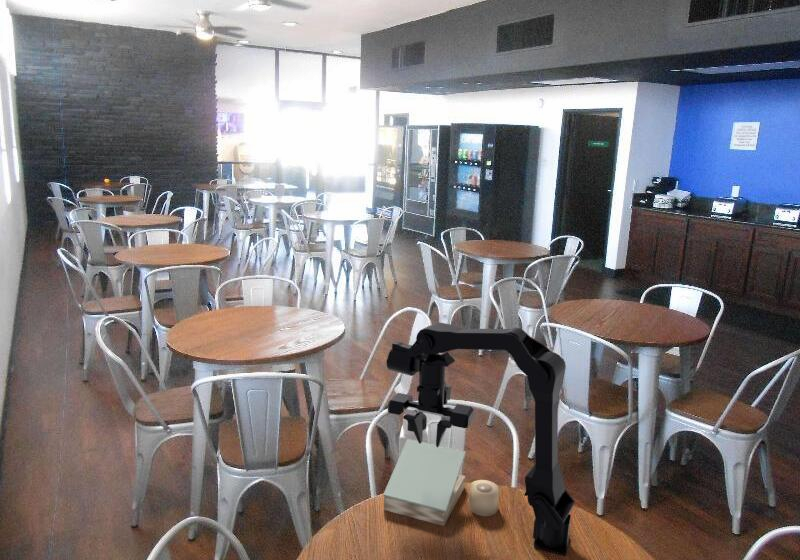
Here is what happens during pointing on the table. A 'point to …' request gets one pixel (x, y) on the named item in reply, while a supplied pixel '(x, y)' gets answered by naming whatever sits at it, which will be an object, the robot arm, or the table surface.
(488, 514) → the cream dome knob
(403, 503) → the box
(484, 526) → the table surface
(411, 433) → the medicine bottle
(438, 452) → the lid
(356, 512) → the table surface
